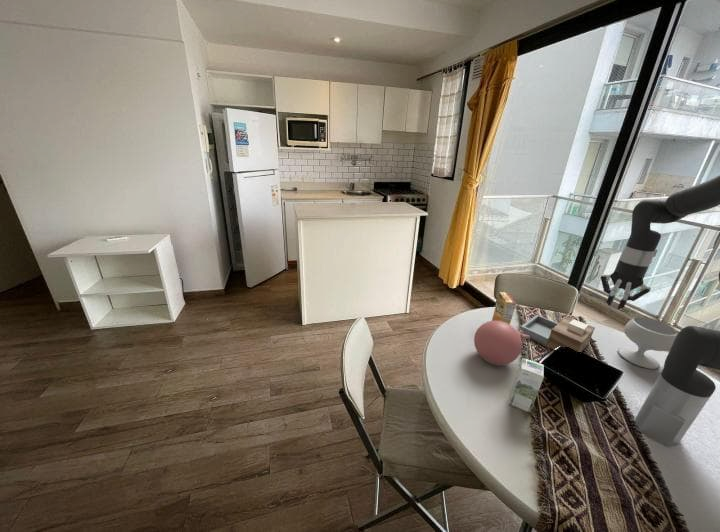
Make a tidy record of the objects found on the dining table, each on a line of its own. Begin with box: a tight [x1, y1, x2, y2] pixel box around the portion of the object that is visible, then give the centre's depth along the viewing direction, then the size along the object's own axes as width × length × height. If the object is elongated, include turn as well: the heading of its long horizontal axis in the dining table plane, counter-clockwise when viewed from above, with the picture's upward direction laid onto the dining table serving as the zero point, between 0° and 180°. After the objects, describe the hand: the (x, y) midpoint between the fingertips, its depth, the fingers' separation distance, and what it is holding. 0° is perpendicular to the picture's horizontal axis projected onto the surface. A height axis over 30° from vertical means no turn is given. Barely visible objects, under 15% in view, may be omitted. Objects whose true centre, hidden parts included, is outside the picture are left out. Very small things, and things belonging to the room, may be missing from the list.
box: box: [519, 314, 559, 347], centre depth 123 cm, size 16×10×4 cm, turn 129°
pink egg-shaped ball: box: [473, 320, 530, 366], centre depth 104 cm, size 15×20×15 cm
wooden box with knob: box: [545, 316, 596, 353], centre depth 115 cm, size 16×10×8 cm, turn 129°
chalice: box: [617, 316, 678, 370], centre depth 108 cm, size 14×14×15 cm
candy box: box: [491, 291, 517, 325], centre depth 123 cm, size 9×4×15 cm, turn 175°
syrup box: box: [509, 357, 545, 414], centre depth 86 cm, size 6×6×14 cm
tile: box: [567, 318, 589, 335], centre depth 112 cm, size 5×5×2 cm
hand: (614, 306), depth 102 cm, fingers closed
